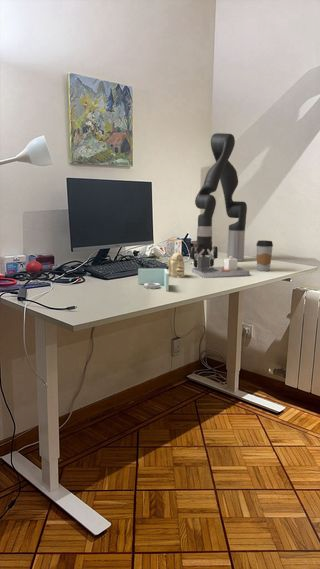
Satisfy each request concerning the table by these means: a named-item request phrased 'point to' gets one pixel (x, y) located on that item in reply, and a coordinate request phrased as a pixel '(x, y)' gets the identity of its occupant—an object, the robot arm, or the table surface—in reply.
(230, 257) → the white plug
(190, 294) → the table surface
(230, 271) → the socket plate
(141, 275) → the l-shaped corner panel
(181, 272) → the robot
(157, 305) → the table surface
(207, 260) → the grey plug
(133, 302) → the table surface
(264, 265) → the coffee cup
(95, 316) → the table surface
